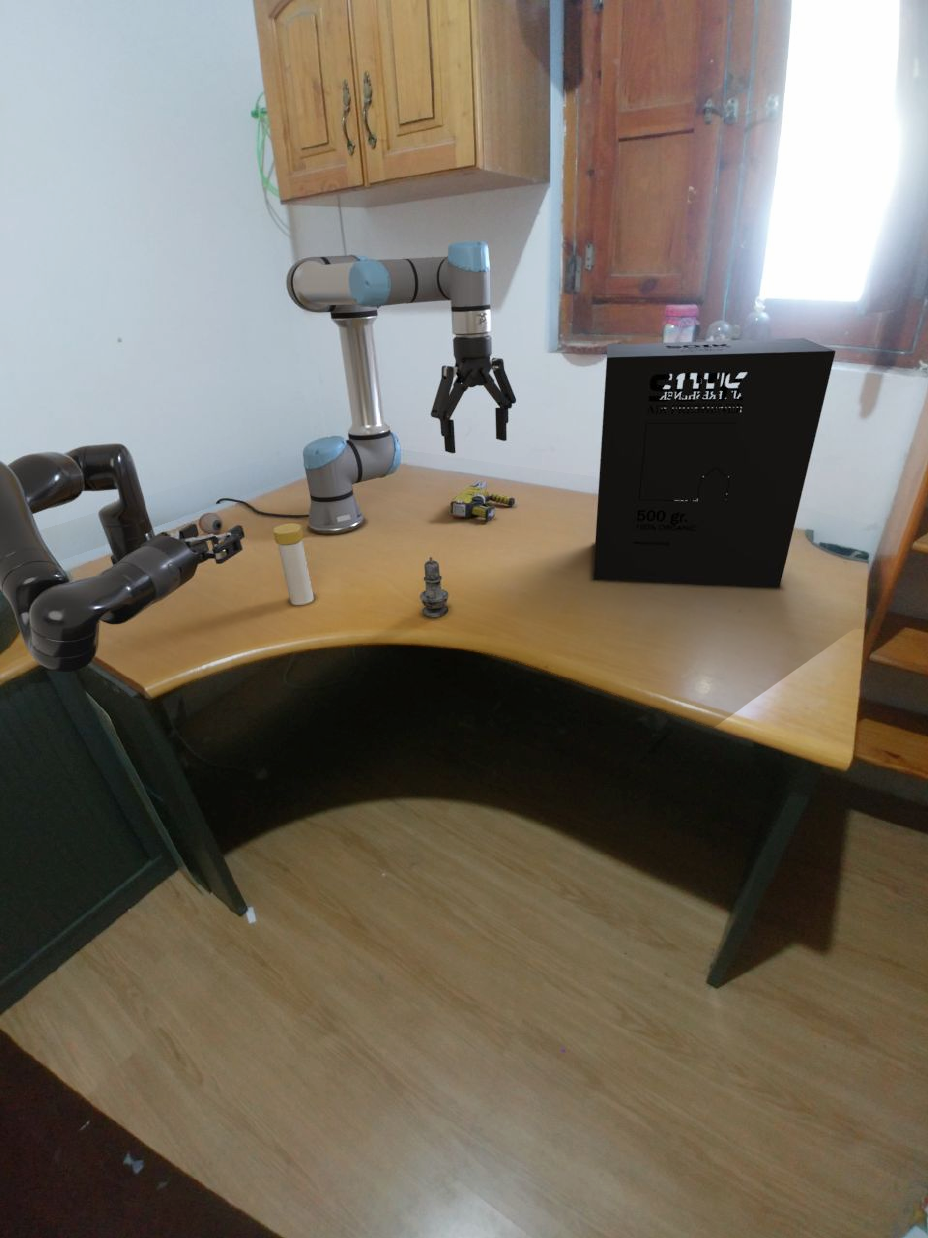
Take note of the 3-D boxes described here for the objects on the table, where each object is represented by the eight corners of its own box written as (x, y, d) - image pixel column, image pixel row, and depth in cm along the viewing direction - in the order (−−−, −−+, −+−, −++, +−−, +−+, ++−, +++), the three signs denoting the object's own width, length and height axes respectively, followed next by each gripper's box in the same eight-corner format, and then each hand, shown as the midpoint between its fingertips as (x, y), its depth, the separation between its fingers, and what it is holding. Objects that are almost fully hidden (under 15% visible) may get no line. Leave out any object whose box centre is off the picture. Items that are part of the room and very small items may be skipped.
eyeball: (212, 539, 164) (206, 518, 161) (197, 535, 167) (191, 515, 164) (230, 531, 169) (224, 511, 166) (215, 528, 172) (210, 508, 169)
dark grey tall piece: (446, 618, 120) (442, 563, 114) (417, 616, 122) (412, 562, 116) (452, 604, 125) (448, 551, 119) (425, 602, 126) (420, 550, 120)
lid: (290, 532, 127) (288, 521, 126) (309, 537, 125) (307, 526, 123) (269, 541, 123) (266, 530, 122) (288, 546, 121) (286, 535, 119)
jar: (302, 592, 134) (288, 524, 126) (318, 597, 132) (304, 528, 124) (285, 601, 131) (270, 532, 123) (301, 607, 128) (286, 536, 120)
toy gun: (523, 485, 181) (476, 478, 185) (501, 509, 161) (448, 500, 165) (521, 500, 184) (475, 493, 187) (499, 525, 163) (447, 517, 167)
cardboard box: (759, 548, 141) (803, 338, 119) (779, 587, 124) (835, 350, 102) (595, 543, 149) (607, 344, 126) (593, 579, 132) (607, 357, 109)
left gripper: (121, 592, 90) (187, 549, 104) (205, 597, 87) (262, 552, 100) (103, 545, 86) (174, 507, 100) (190, 548, 83) (251, 509, 97)
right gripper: (429, 342, 108) (437, 460, 118) (533, 329, 120) (532, 437, 131) (407, 340, 113) (417, 454, 124) (508, 328, 125) (510, 432, 136)
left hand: (218, 529), depth 100 cm, fingers open, 8 cm apart
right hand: (476, 445), depth 127 cm, fingers open, 13 cm apart
